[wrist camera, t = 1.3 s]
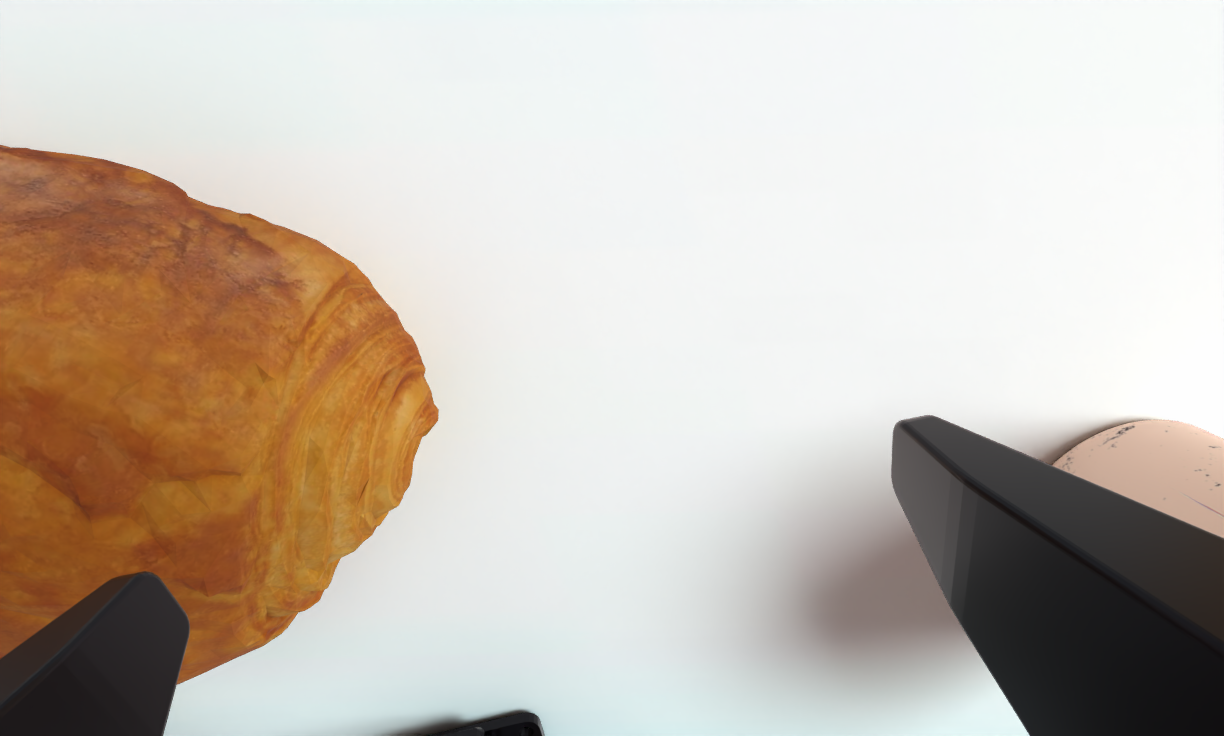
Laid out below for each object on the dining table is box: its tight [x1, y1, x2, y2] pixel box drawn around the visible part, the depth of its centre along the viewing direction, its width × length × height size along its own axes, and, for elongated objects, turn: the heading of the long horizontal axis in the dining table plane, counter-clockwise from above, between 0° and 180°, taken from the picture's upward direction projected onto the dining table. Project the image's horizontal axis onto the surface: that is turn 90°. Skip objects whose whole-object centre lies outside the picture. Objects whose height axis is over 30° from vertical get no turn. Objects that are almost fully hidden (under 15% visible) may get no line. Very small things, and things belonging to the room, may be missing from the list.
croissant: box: [0, 145, 438, 684], centre depth 17 cm, size 14×16×8 cm
